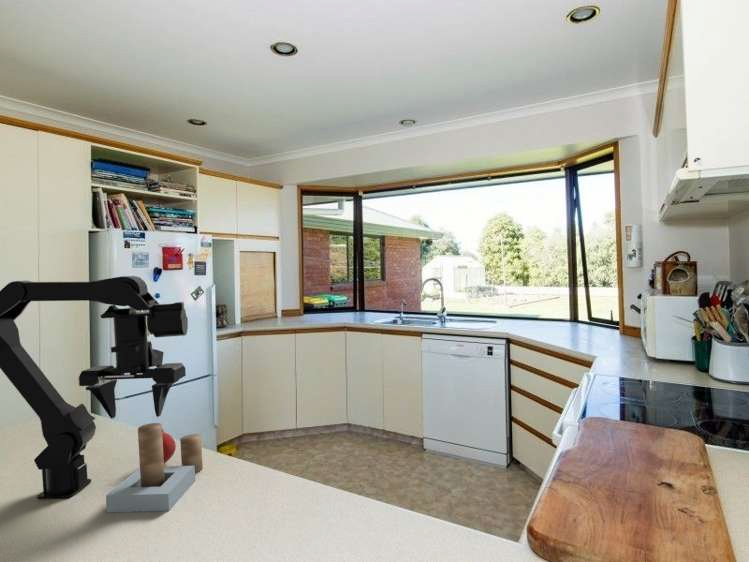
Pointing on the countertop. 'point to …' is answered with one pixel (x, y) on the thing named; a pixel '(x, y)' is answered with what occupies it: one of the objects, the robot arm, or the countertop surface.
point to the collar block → (151, 491)
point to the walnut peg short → (191, 451)
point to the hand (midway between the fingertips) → (135, 416)
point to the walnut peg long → (151, 455)
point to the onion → (168, 446)
